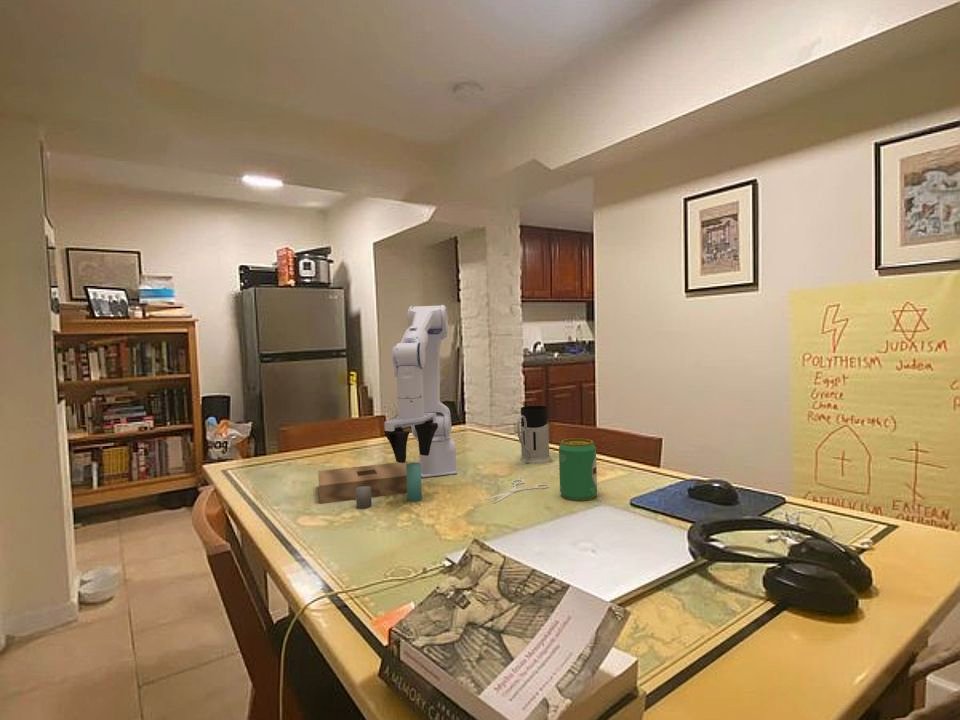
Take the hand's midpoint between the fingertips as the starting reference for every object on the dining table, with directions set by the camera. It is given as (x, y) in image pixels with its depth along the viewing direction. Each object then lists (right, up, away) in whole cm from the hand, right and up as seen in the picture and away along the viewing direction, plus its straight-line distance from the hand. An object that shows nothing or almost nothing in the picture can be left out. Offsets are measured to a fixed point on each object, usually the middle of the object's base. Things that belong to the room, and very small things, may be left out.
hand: (413, 458), depth 116 cm
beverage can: (+36, -8, -1) cm, 37 cm away
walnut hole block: (-12, -9, +10) cm, 18 cm away
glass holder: (+29, -7, +32) cm, 44 cm away
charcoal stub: (-10, -10, -3) cm, 14 cm away
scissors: (+22, -9, +4) cm, 24 cm away
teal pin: (0, -9, 0) cm, 9 cm away
